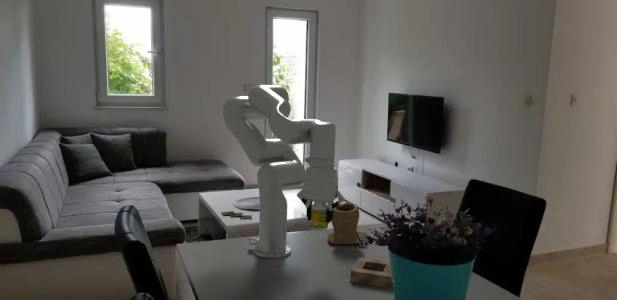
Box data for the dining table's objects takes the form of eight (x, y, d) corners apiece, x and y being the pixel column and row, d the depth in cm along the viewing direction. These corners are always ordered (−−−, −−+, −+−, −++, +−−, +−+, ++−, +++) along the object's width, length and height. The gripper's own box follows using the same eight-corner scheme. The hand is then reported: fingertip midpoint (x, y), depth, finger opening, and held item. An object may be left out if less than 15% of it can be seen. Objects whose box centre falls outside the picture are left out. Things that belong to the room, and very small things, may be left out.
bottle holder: (350, 281, 151) (350, 270, 150) (358, 267, 162) (359, 257, 161) (390, 288, 147) (390, 276, 146) (395, 273, 158) (396, 262, 158)
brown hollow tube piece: (327, 248, 180) (329, 207, 177) (326, 237, 191) (328, 199, 189) (369, 249, 179) (372, 209, 177) (366, 238, 191) (368, 200, 189)
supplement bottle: (321, 224, 157) (322, 195, 156) (331, 229, 153) (332, 199, 152) (307, 227, 154) (308, 196, 153) (316, 231, 150) (318, 200, 149)
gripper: (290, 162, 150) (289, 220, 152) (346, 167, 144) (343, 227, 147) (299, 158, 157) (297, 214, 159) (352, 163, 152) (349, 221, 154)
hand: (319, 220), depth 153 cm, fingers closed on supplement bottle, 5 cm apart
